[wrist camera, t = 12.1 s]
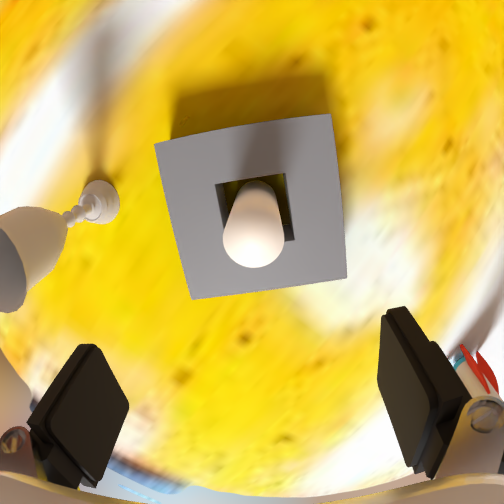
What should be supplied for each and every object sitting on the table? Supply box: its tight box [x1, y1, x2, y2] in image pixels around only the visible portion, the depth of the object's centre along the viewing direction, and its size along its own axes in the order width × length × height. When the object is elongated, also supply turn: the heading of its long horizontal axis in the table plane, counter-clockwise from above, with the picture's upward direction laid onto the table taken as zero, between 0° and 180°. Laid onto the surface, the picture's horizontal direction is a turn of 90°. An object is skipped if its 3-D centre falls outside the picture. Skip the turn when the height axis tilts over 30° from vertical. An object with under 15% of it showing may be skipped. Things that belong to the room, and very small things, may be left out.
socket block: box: [154, 114, 347, 300], centre depth 30 cm, size 15×15×5 cm
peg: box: [223, 181, 284, 268], centre depth 27 cm, size 4×4×12 cm
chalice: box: [0, 180, 120, 313], centre depth 24 cm, size 7×7×18 cm
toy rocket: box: [453, 344, 503, 401], centre depth 26 cm, size 6×6×30 cm
